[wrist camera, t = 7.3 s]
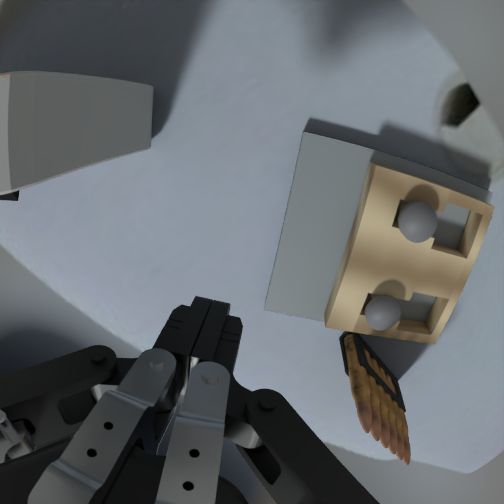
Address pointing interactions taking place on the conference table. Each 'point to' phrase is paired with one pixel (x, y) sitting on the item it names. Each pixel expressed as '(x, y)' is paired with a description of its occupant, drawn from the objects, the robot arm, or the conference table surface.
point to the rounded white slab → (67, 124)
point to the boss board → (339, 228)
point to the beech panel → (403, 256)
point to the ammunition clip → (376, 396)
